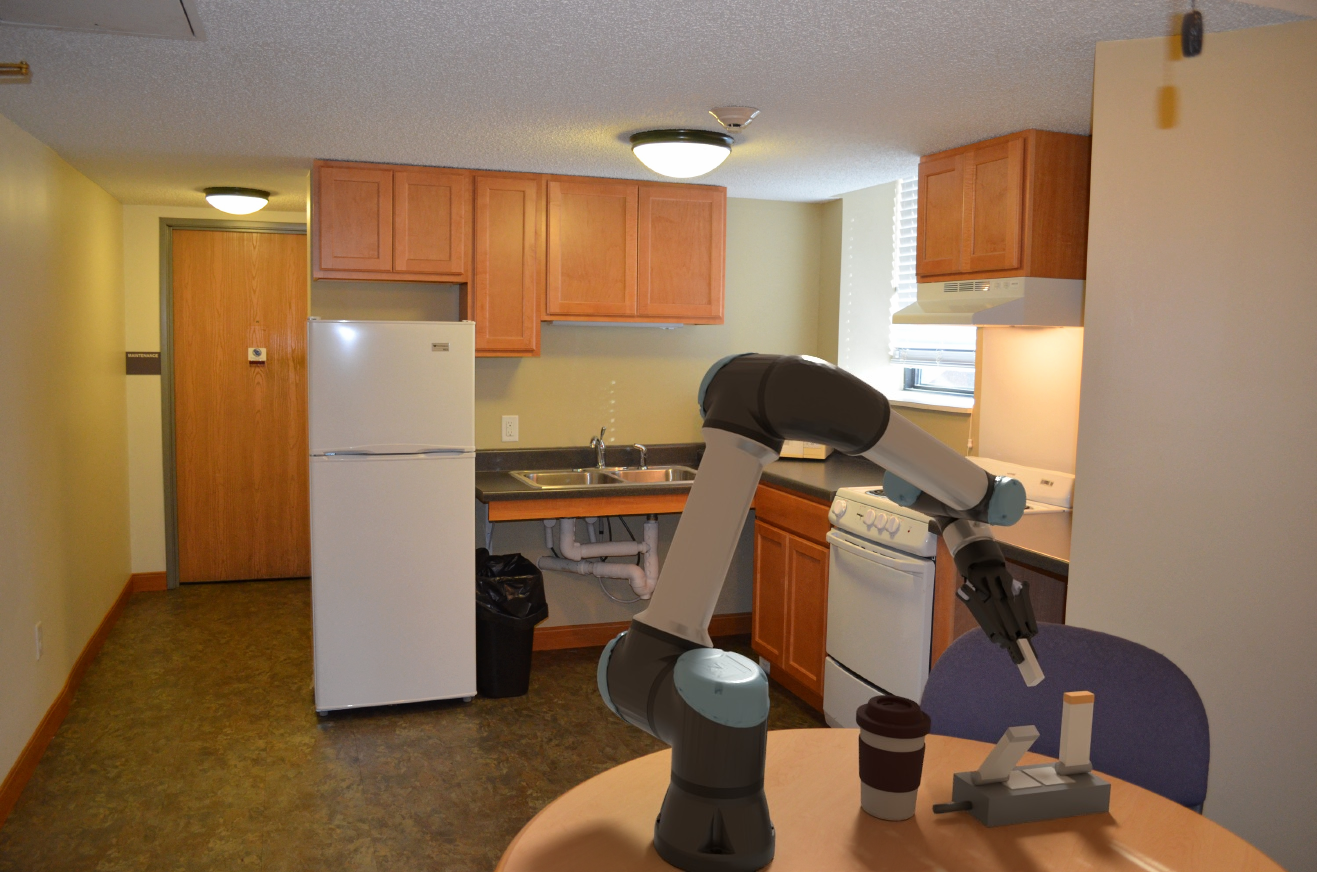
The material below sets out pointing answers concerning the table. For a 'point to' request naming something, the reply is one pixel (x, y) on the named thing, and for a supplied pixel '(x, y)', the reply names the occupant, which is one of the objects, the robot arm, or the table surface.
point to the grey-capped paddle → (1005, 755)
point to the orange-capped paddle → (1075, 733)
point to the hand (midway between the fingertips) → (1036, 681)
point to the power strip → (1028, 796)
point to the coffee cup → (891, 755)
